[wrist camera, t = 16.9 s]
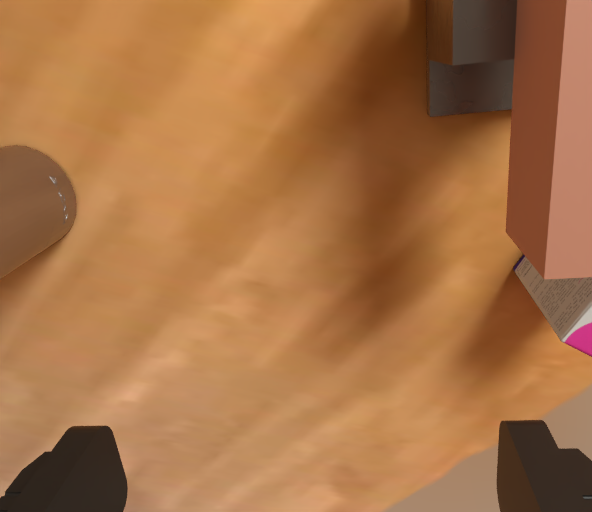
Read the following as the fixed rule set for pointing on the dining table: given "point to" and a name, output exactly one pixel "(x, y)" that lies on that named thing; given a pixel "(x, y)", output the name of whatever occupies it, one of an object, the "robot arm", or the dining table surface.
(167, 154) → the dining table surface
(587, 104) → the batten
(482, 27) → the stand
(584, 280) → the supplement box
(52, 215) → the robot arm
